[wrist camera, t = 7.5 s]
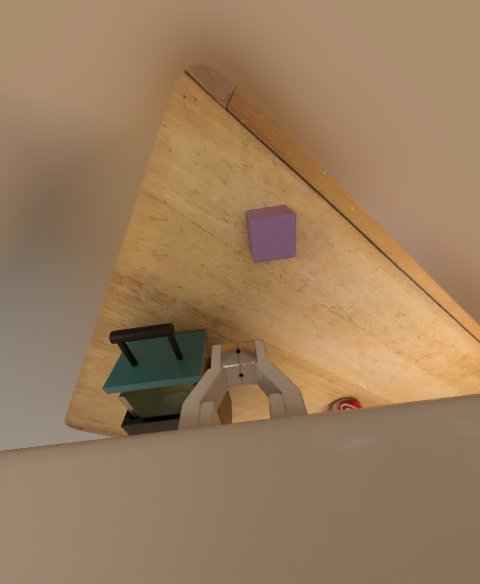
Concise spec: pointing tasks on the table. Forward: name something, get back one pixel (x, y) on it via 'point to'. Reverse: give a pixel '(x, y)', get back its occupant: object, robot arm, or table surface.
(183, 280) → the table surface
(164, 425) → the black cabinet box
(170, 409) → the teal drawer
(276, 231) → the mauve cube
